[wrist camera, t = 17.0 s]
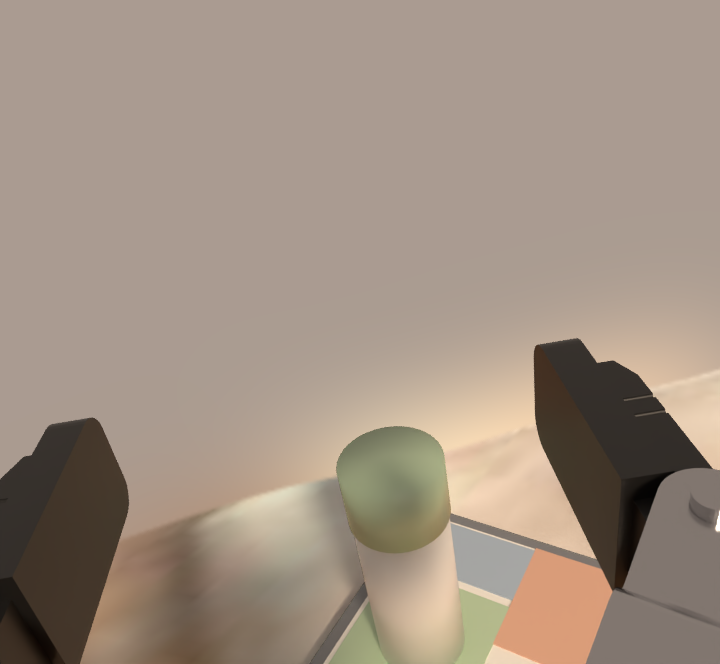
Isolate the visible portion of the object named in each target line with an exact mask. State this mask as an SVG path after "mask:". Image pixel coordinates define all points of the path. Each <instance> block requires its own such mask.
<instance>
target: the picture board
mask: <svg viewBox="0 0 720 664" xmlns="http://www.w3.org/2000/svg"><path fill="white" fill-rule="evenodd" d="M450 524H451V532H452V540H453V547H454V555H455V563H456V571H457V579H458V586H459V594H460V602H461V610H462V618H463V626H464V634H465V641H464V647H463V650H462V652H461V654H460V656H459V658H458V659H457V661H456V662H455V663H454V664H586V661H587V658H588V656H589V653H590V650H591V647H592V645H593V642H594V639H595V637H596V634H597V631H598V628H599V626H600V623H601V620H602V617H603V615H604V612H605V609H606V607H607V604H608V601H609V599H610V597H611V594H612V592H613V591H612V589H611V587H610V585H609V583H608V581H607V579H606V577H605V575H604V573H603V571H602V569H601V567H600V565H599V563H598V561H597V560H596V559H593V558H590V557H587V556H584V555H580V554H577V553H574V552H571V551H568V550H565V549H562V548H558V547H555V546H552V545H549V544H546V543H543V542H539V541H536V540H533V539H530V538H527V537H524V536H520V535H517V534H514V533H511V532H508V531H505V530H502V529H498V528H495V527H492V526H489V525H486V524H483V523H479V522H476V521H473V520H470V519H467V518H464V517H460V516H457V515H454V514H450ZM310 664H388V662H387V661H386V660H385V658H384V656H383V654H382V652H381V648H380V644H379V640H378V636H377V632H376V627H375V623H374V619H373V615H372V610H371V606H370V602H369V598H368V593H367V589H366V585H365V582H364V583H363V585H362V586H361V588H360V589H359V591H358V592H357V594H356V595H355V597H354V598H353V600H352V601H351V603H350V604H349V606H348V607H347V609H346V610H345V612H344V613H343V615H342V616H341V618H340V619H339V621H338V622H337V624H336V625H335V627H334V628H333V630H332V631H331V633H330V634H329V636H328V637H327V639H326V640H325V642H324V643H323V644H322V646H321V647H320V649H319V650H318V652H317V653H316V655H315V656H314V658H313V659H312V661H311V662H310Z"/></svg>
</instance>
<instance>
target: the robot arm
mask: <svg viewBox="0 0 720 664" xmlns="http://www.w3.org/2000/svg"><path fill="white" fill-rule="evenodd" d="M534 383H535V384H534V385H535V386H534V388H535V419H536V425H537V430H538V435H539V438H540V441H541V444H542V447H543V449H544V451H545V453H546V455H547V457H548V459H549V461H550V464H551V466H552V468H553V470H554V472H555V474H556V476H557V478H558V480H559V482H560V484H561V486H562V488H563V490H564V492H565V494H566V497H567V499H568V501H569V503H570V505H571V507H572V509H573V511H574V513H575V515H576V517H577V519H578V521H579V523H580V525H581V528H582V530H583V532H584V534H585V536H586V538H587V540H588V542H589V544H590V546H591V548H592V550H593V552H594V554H595V556H596V558H597V561H598V563H599V565H600V567H601V569H602V571H603V573H604V575H605V577H606V579H607V581H608V583H609V585H610V587H611V589H612V591H613V592H612V594H611V597H610V599H609V601H608V604H607V607H606V609H605V612H604V615H603V617H602V620H601V623H600V626H599V628H598V631H597V634H596V637H595V639H594V642H593V645H592V647H591V650H590V653H589V656H588V658H587V661H586V664H720V470H715V469H713V468H712V467H711V466H710V465H709V463H708V462H707V461H706V460H705V458H704V457H703V456H702V455H701V453H700V452H699V451H698V450H697V448H696V447H695V446H694V445H693V443H692V442H691V441H690V440H689V438H688V437H687V436H686V435H685V433H684V432H683V431H682V430H681V428H680V427H679V426H678V425H677V423H676V422H675V421H674V420H673V418H672V417H671V416H670V415H669V413H666V412H665V408H664V407H663V406H662V404H661V403H660V402H659V401H658V399H657V398H656V397H653V393H652V392H651V391H650V389H649V388H648V387H647V386H646V384H645V383H644V382H643V381H642V379H641V378H640V377H639V376H638V375H637V374H636V373H634V372H632V371H631V370H629V369H627V368H625V367H623V366H622V365H620V364H618V363H616V362H615V361H607V362H601V363H597V362H596V361H595V359H594V358H593V357H592V355H591V354H590V352H589V351H588V350H587V348H586V347H585V345H584V344H583V343H582V341H581V340H579V339H578V338H577V339H570V340H564V341H558V342H552V343H546V344H540V345H536V347H535V350H534ZM128 506H129V499H128V489H127V484H126V481H125V479H124V476H123V474H122V472H121V469H120V467H119V465H118V462H117V460H116V458H115V456H114V453H113V451H112V449H111V446H110V444H109V442H108V440H107V437H106V435H105V433H104V431H103V428H102V426H101V424H100V423H99V422H98V420H96V419H95V418H87V419H81V420H75V421H69V422H62V423H57V424H52V425H50V426H48V428H47V429H46V430H45V432H44V434H43V436H42V438H41V440H40V441H39V443H38V445H37V447H36V448H35V450H34V452H33V454H32V455H31V456H26V457H23V458H22V459H21V460H20V461H19V462H18V463H17V464H16V465H15V466H14V467H13V468H12V469H10V470H9V471H8V472H7V473H6V474H5V475H4V476H3V477H2V478H1V479H0V664H80V661H81V658H82V655H83V652H84V648H85V645H86V642H87V639H88V636H89V633H90V630H91V627H92V623H93V620H94V617H95V614H96V611H97V608H98V605H99V601H100V598H101V595H102V592H103V589H104V586H105V583H106V580H107V576H108V573H109V570H110V567H111V564H112V561H113V558H114V555H115V551H116V548H117V545H118V542H119V539H120V536H121V533H122V529H123V526H124V523H125V520H126V517H127V513H128Z"/></svg>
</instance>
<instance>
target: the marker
mask: <svg viewBox="0 0 720 664" xmlns="http://www.w3.org/2000/svg"><path fill="white" fill-rule="evenodd" d="M336 470H337V476H338V481H339V485H340V489H341V493H342V497H343V502H344V506H345V510H346V514H347V518H348V523H349V527H350V529H351V532H352V533H353V535H354V538H355V542H356V547H357V551H358V555H359V559H360V564H361V568H362V572H363V576H364V581H365V585H366V589H367V593H368V598H369V602H370V606H371V610H372V615H373V619H374V623H375V627H376V632H377V636H378V640H379V644H380V648H381V652H382V654H383V656H384V658H385V660H386V661H387V662H388V664H454V663H455V662H456V661H457V659H458V658H459V656H460V654H461V652H462V650H463V647H464V641H465V634H464V626H463V618H462V610H461V602H460V594H459V586H458V579H457V571H456V563H455V555H454V547H453V540H452V532H451V524H450V514H451V506H450V498H449V490H448V482H447V474H446V466H445V458H444V453H443V449H442V447H441V446H440V444H439V443H438V441H437V440H435V438H433V437H432V436H431V435H429V434H427V433H426V432H423V431H421V430H418V429H415V428H410V427H402V426H401V427H400V426H399V427H398V426H394V427H385V428H380V429H376V430H373V431H370V432H368V433H365V434H363V435H361V436H359V437H358V438H356V439H355V440H353V441H352V442H351V443H350V444H348V446H347V447H346V448H345V449H344V450H343V452H342V453H341V455H340V456H339V459H338V462H337V467H336Z"/></svg>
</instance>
